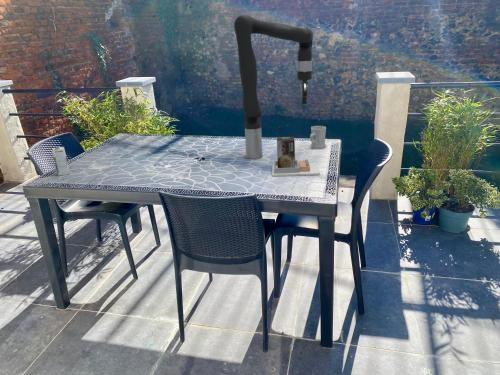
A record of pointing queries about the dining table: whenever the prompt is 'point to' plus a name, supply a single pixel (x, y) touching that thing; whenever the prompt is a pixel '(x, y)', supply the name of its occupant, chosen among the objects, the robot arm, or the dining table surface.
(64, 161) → the syrup box
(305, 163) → the pink rectangular block
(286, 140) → the coffee box
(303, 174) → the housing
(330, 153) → the dining table surface
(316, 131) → the cup
